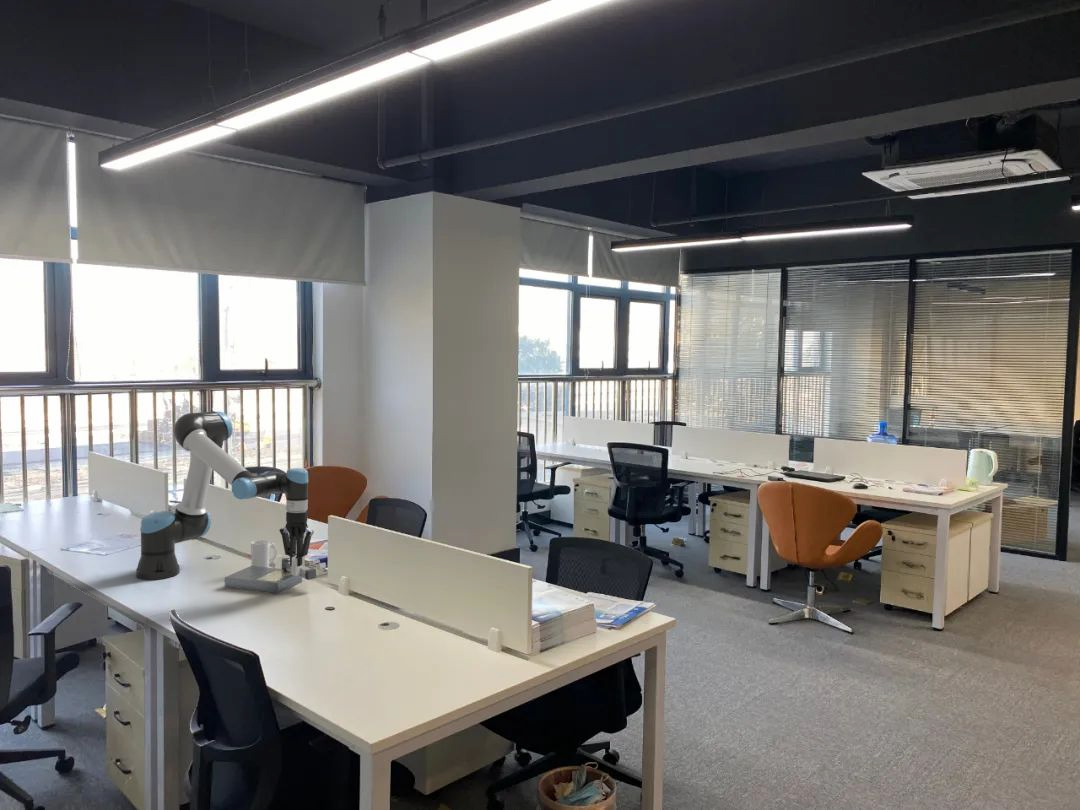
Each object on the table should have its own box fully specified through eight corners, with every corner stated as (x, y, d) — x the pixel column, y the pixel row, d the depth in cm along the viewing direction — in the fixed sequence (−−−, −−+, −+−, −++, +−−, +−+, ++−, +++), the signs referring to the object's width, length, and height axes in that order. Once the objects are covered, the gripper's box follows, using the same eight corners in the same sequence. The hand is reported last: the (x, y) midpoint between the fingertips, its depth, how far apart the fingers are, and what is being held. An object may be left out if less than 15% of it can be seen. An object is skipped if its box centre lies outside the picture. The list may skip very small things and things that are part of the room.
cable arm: (279, 568, 294) (280, 559, 293) (288, 567, 296) (288, 557, 296) (307, 580, 281) (307, 569, 281) (316, 578, 283) (316, 567, 283)
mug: (255, 575, 299) (255, 545, 299) (248, 571, 304) (248, 541, 304) (280, 571, 306) (280, 541, 305) (272, 567, 311) (273, 538, 310)
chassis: (224, 587, 283) (225, 576, 283) (251, 575, 299) (251, 564, 299) (278, 594, 278) (278, 582, 278) (302, 581, 294) (302, 570, 293)
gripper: (274, 511, 281) (273, 575, 282) (307, 514, 277) (306, 579, 278) (286, 507, 288) (285, 570, 289) (318, 510, 285) (317, 573, 286)
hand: (295, 574), depth 284 cm, fingers closed
